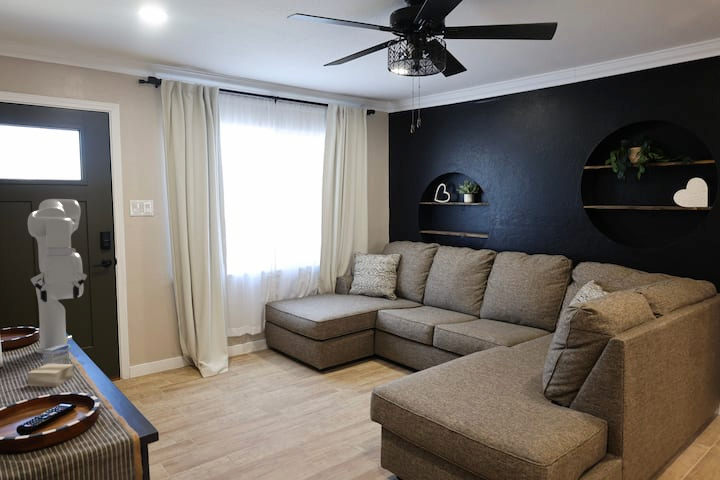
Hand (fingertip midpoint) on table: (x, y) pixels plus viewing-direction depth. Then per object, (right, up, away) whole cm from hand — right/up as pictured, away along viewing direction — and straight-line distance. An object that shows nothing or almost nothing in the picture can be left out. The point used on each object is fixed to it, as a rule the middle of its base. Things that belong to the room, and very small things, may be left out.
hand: (60, 299), depth 171 cm
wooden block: (-3, -30, 0) cm, 30 cm away
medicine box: (-9, -29, +12) cm, 33 cm away
